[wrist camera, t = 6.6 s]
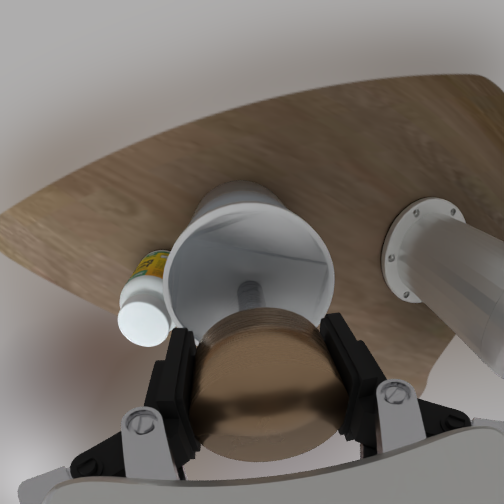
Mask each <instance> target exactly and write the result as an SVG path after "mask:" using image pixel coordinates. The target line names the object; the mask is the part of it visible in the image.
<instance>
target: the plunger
mask: <svg viewBox="0 0 504 504" xmlns="http://www.w3.org/2000/svg"><path fill="white" fill-rule="evenodd" d="M237 297H238V311H239V312H236V313H234V314H231V315H229V316H227V317H225V318H223V319H221V320H220V321H218V322H217V323H215V324H214V325H213V326H212V327H211V328H210V329H209V330H208V331H207V332H206V333H205V334H204V335H203V337H202V339H201V340H200V342H199V344H198V346H197V349H196V354H195V361H194V369H193V378H192V387H191V397H190V406H189V421H190V424H191V427H192V430H193V433H194V436H195V438H196V439H197V440H198V441H199V442H200V443H201V444H202V445H203V446H204V447H206V448H207V449H209V450H210V451H212V452H214V453H216V454H219V455H221V456H224V457H227V458H230V459H235V460H240V461H248V462H268V461H276V460H282V459H287V458H290V457H294V456H297V455H300V454H303V453H305V452H308V451H310V450H312V449H314V448H316V447H317V446H319V445H320V444H322V443H324V442H325V441H326V440H328V439H329V438H330V437H331V436H332V435H334V434H335V433H336V431H337V430H338V429H339V428H340V427H341V425H342V424H343V423H344V419H345V415H346V410H347V406H348V401H349V396H348V393H347V390H346V388H345V386H344V384H343V381H342V379H341V377H340V375H339V373H338V370H337V368H336V366H335V364H334V362H333V359H332V357H331V355H330V353H329V351H328V348H327V346H326V344H325V342H324V340H323V338H322V336H321V334H320V332H319V330H318V329H317V328H316V327H315V325H314V324H312V323H311V322H310V321H309V320H308V319H306V318H305V317H303V316H301V315H299V314H297V313H295V312H292V311H289V310H285V309H280V308H271V307H267V306H266V302H265V297H264V293H263V289H262V286H261V285H260V284H259V283H258V282H256V281H252V280H248V281H245V282H243V283H241V284H240V286H239V287H238V290H237Z"/></svg>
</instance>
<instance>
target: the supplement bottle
mask: <svg viewBox="0 0 504 504" xmlns="http://www.w3.org/2000/svg"><path fill="white" fill-rule="evenodd" d="M170 252H171V251H167V250H158V251H154V252H151V253H149V254H148V255H146V256H145V257H144V258H143V260H142V261H141V262H140V264H139V265H138V267H137V268H136V270H135V271H134V273H133V274H132V276H131V277H130V279H129V280H128V282H127V283H126V285H125V286H124V288H123V290H122V292H121V295H120V312H119V314H118V325H119V328H120V330H121V332H122V334H123V335H124V336H125V337H126V338H127V339H128V340H130V341H131V342H133V343H135V344H137V345H140V346H147V347H150V346H156V345H158V344H160V343H161V342H163V341H164V340H165V339H166V337H167V336H168V333H169V331H171V330H172V329H173V328H175V327H176V325H175V323H174V322H173V320H172V318H171V317H170V314H169V312H168V310H167V308H166V304H165V300H164V295H163V274H164V268H165V264H166V261H167V258H168V256H169V254H170Z"/></svg>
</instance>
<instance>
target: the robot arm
mask: <svg viewBox="0 0 504 504" xmlns="http://www.w3.org/2000/svg"><path fill="white" fill-rule="evenodd" d="M381 264H382V272H383V277H384V279H385V282H386V284H387V286H388V287H389V288H390V290H391V291H392V292H393V293H394V294H395V295H396V296H397V297H398V298H400V299H402V300H403V301H406V302H410V303H421V302H423V303H425V304H426V305H427V306H428V307H429V308H430V309H431V310H432V311H433V312H434V313H435V314H436V315H437V316H438V317H439V318H440V319H441V320H442V321H443V322H444V323H445V324H446V325H447V326H449V327H450V328H451V329H452V330H453V331H454V332H455V333H456V334H457V335H458V336H459V337H460V338H461V339H462V340H463V341H464V342H465V344H467V346H469V348H470V349H471V350H473V352H474V353H475V354H476V355H477V356H478V357H479V358H480V359H481V360H482V361H483V362H484V363H485V364H486V365H487V366H488V367H489V368H490V369H491V370H492V371H493V372H494V373H495V374H496V375H498V376H499V377H501V378H503V379H504V241H502V240H500V239H498V238H496V237H493V236H491V235H489V234H487V233H485V232H483V231H481V230H479V229H477V228H474V227H472V226H470V225H468V224H466V221H465V219H464V217H463V215H462V213H461V212H460V210H459V209H458V208H457V207H456V206H455V205H454V204H452V203H451V202H449V201H447V200H444V199H441V198H437V197H427V198H423V199H420V200H418V201H416V202H414V203H412V204H410V205H409V206H408V207H407V208H405V209H404V210H403V211H402V212H401V213H400V214H399V216H398V217H397V218H396V219H395V221H394V222H393V224H392V225H391V227H390V229H389V231H388V234H387V236H386V238H385V242H384V245H383V250H382V257H381ZM320 334H321V336H322V338H323V340H324V342H325V344H326V346H327V348H328V351H329V353H330V355H331V357H332V359H333V362H334V364H335V366H336V368H337V370H338V373H339V375H340V377H341V379H342V381H343V384H344V386H345V388H346V390H347V393H348V396H349V401H348V406H347V410H346V415H345V419H344V423H343V424H342V425H341V427H340V428H339V429H338V431H339V433H340V435H343V434H344V435H345V438H346V440H347V441H350V440H354V439H355V441H357V442H360V460H357V461H352V462H348V463H344V464H340V465H336V466H331V467H326V468H321V469H316V470H311V471H305V472H298V473H293V474H285V475H278V476H269V477H260V478H249V479H235V480H212V481H188V480H187V476H186V472H185V469H184V466H183V465H184V464H185V463H187V462H188V461H189V460H190V459H195V452H198V451H200V448H201V447H200V446H201V443H200V442H199V441H198V440H197V439H196V438H195V436H194V433H193V430H192V427H191V424H190V421H189V406H190V397H191V387H192V378H193V369H194V361H195V354H196V345H195V340H194V334H193V331H188V329H187V328H173V330H172V334H171V338H170V342H169V346H168V350H167V354H166V359H165V360H160V361H159V360H158V361H156V362H155V364H154V368H153V371H152V375H151V379H150V383H149V387H148V391H147V395H146V399H145V403H144V407H137V408H134V409H132V410H130V411H128V412H127V413H126V414H125V415H124V417H123V419H122V421H121V431H120V432H118V433H117V434H115V435H113V436H112V437H110V438H108V439H106V440H105V441H103V442H101V443H100V444H98V445H96V446H94V447H92V448H91V449H89V450H87V451H85V452H84V453H81V454H80V455H78V456H77V457H76V458H75V459H74V460H73V461H72V463H71V466H70V467H69V468H65V467H64V466H63V467H60V468H58V469H55V470H53V471H50V472H47V473H45V474H42V475H39V476H36V477H34V478H31V479H28V480H26V481H24V482H22V483H21V485H20V486H19V488H18V498H19V501H20V504H504V422H502V421H495V420H487V419H481V418H473V420H470V419H469V417H468V416H467V415H466V414H465V413H463V412H461V411H459V410H456V409H452V408H448V407H445V406H441V405H438V404H435V403H431V402H428V401H424V400H421V399H418V398H417V397H416V393H415V390H414V388H413V387H412V386H411V385H410V384H409V383H408V382H406V381H404V380H400V379H389V380H387V379H386V377H385V375H384V374H383V372H382V370H381V369H380V367H379V366H378V364H377V362H376V361H375V359H374V357H373V356H372V354H371V353H370V351H369V349H368V348H367V346H366V345H365V343H364V342H363V341H362V340H359V341H357V340H356V338H355V337H354V335H353V333H352V332H351V330H350V328H349V327H348V325H347V323H346V322H345V320H344V319H343V317H342V315H341V314H340V313H332V314H326V315H325V318H322V319H321V322H320Z"/></svg>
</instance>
